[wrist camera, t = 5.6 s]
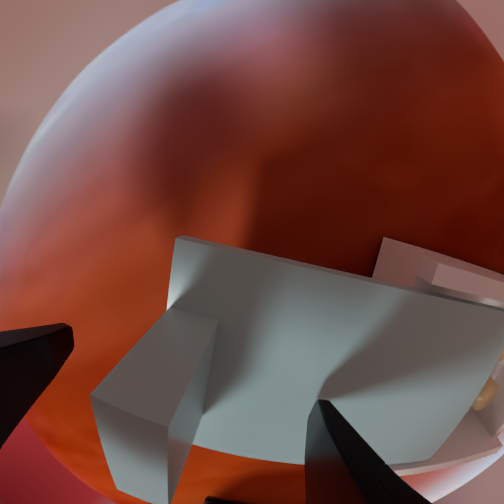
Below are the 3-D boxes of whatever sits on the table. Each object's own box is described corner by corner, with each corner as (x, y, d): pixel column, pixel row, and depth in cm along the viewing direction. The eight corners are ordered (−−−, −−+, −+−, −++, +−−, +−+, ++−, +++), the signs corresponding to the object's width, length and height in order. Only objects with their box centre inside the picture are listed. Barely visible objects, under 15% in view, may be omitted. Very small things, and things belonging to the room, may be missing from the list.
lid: (426, 452, 10) (452, 518, 5) (164, 425, 10) (123, 509, 5) (510, 309, 8) (582, 360, 3) (182, 235, 8) (74, 285, 4)
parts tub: (471, 413, 14) (497, 452, 9) (316, 414, 14) (323, 480, 9) (533, 286, 11) (578, 309, 6) (383, 236, 12) (438, 262, 7)
